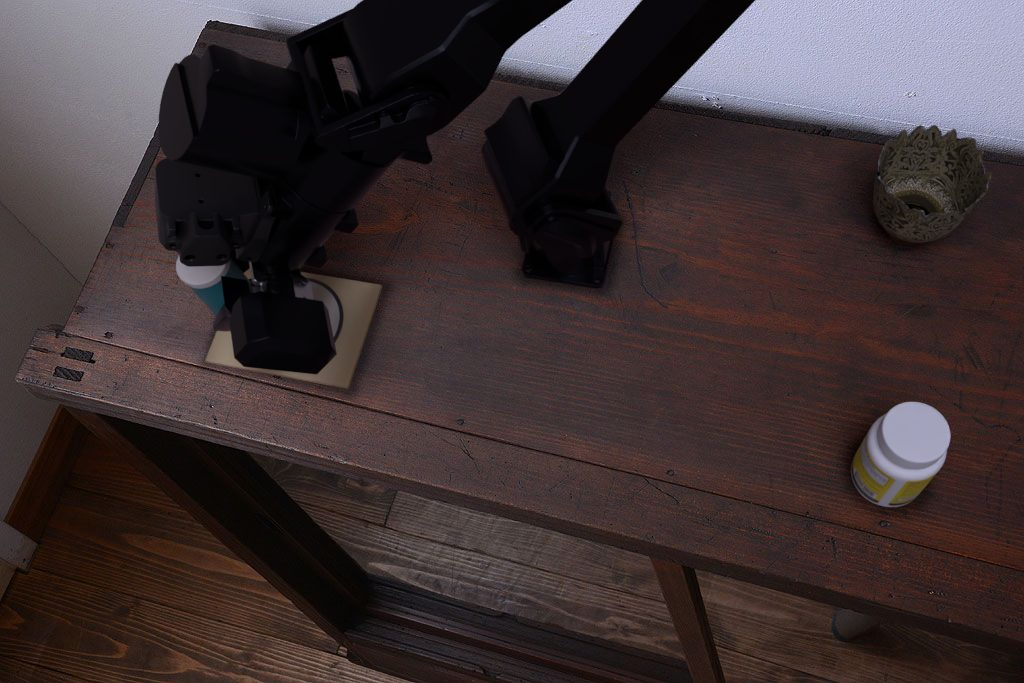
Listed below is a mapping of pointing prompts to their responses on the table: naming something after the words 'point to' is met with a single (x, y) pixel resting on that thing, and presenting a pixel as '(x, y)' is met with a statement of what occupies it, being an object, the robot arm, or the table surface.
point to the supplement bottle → (901, 454)
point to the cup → (927, 184)
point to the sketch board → (349, 325)
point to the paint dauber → (209, 281)
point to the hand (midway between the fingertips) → (216, 306)
